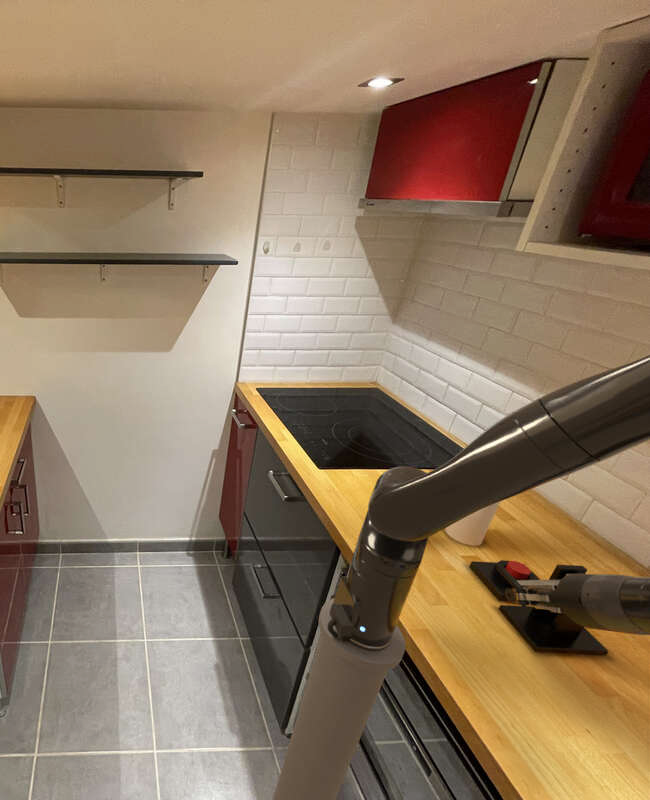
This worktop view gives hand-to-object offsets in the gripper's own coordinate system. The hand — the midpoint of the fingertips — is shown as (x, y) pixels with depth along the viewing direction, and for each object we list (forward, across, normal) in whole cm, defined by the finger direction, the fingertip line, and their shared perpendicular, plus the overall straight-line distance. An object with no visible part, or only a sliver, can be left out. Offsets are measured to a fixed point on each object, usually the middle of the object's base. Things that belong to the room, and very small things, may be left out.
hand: (513, 595), depth 79 cm
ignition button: (+12, -11, -4) cm, 17 cm away
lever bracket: (+7, -10, +6) cm, 13 cm away
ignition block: (+14, -11, -2) cm, 18 cm away
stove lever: (-1, -6, -1) cm, 6 cm away
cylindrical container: (+25, -11, -12) cm, 30 cm away
